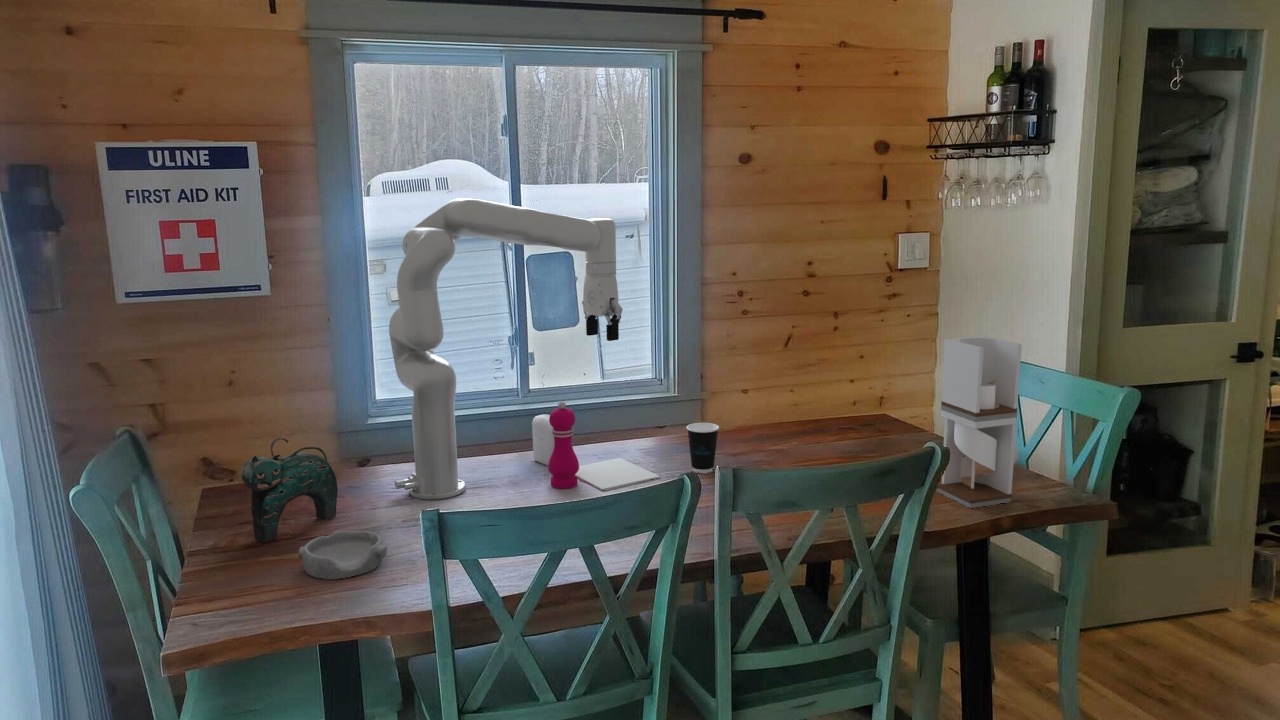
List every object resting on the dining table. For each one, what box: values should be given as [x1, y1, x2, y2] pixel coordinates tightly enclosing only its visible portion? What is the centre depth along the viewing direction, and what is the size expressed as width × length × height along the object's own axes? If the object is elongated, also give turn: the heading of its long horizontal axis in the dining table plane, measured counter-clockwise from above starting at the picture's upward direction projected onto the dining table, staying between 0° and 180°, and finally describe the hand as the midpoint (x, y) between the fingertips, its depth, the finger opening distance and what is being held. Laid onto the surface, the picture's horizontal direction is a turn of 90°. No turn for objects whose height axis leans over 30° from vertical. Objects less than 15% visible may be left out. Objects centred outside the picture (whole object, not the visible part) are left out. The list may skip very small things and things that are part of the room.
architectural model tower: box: [936, 335, 1023, 509], centre depth 200 cm, size 11×11×35 cm
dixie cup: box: [685, 422, 720, 474], centre depth 224 cm, size 8×8×11 cm
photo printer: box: [531, 414, 554, 466], centre depth 231 cm, size 10×4×12 cm, turn 39°
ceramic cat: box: [241, 437, 339, 544], centre depth 188 cm, size 20×6×20 cm, turn 145°
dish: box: [298, 530, 388, 580], centre depth 171 cm, size 14×14×5 cm
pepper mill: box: [547, 401, 580, 490], centre depth 213 cm, size 7×7×20 cm
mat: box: [575, 457, 661, 491], centre depth 222 cm, size 16×18×1 cm
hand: (602, 337), depth 230 cm, fingers open, 9 cm apart
